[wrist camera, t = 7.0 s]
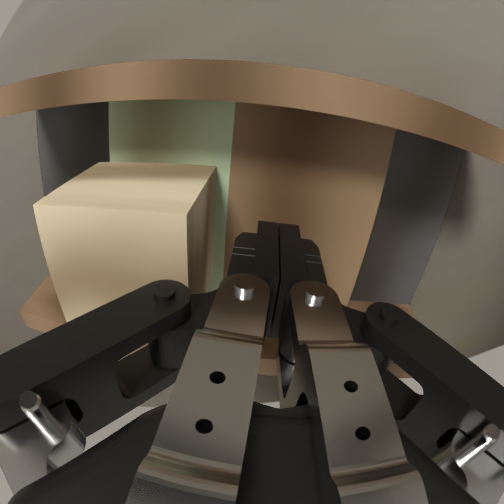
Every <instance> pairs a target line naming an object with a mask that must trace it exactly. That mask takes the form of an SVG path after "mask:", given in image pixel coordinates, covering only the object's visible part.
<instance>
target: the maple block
mask: <svg viewBox="0 0 504 504" xmlns="http://www.w3.org/2000/svg"><path fill="white" fill-rule="evenodd" d="M215 183H216V166H206V165H190V164H170V163H140V162H99V163H97V164H95V165H94V166H92V167H90V168H89V169H87V170H85V171H84V172H82V173H80V174H79V175H77V176H76V177H74V178H72V179H71V180H69V181H68V182H66V183H65V184H63V185H61V186H60V187H58V188H57V189H55V190H54V191H52V192H51V193H50V194H48V195H47V196H45V197H44V198H42V199H41V200H39V201H38V202H37V203H35V204H34V205H33V207H34V212H35V217H36V222H37V226H38V230H39V235H40V239H41V243H42V247H43V250H44V254H45V258H46V261H47V265H48V268H49V272H50V275H51V278H52V281H53V285H54V288H55V291H56V294H57V297H58V300H59V302H60V305H61V308H62V311H63V313H64V316H65V319H66V321H67V322H69V321H71V320H73V319H75V318H77V317H79V316H81V315H83V314H85V313H87V312H89V311H92V310H94V309H96V308H98V307H100V306H102V305H104V304H106V303H108V302H110V301H113V300H115V299H117V298H119V297H121V296H123V295H125V294H127V293H130V292H132V291H134V290H136V289H138V288H140V287H142V286H144V285H147V284H149V283H151V282H153V281H157V280H165V279H167V280H175V281H178V282H181V283H183V284H184V285H186V286H187V287H188V289H189V290H190V294H201V293H207V292H208V291H209V287H210V284H211V280H212V276H213V240H214V208H215ZM147 344H148V343H147Z"/></svg>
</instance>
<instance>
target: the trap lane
mask: <svg viewBox="0 0 504 504" xmlns="http://www.w3.org/2000/svg"><path fill="white" fill-rule="evenodd" d="M33 110H36V119H37V136H38V149H39V159H40V168H41V176H42V183H43V190H44V196H47V195H48V194H50V193H51V192H52V191H54V190H55V189H57V188H58V187H60V186H61V185H63V184H65V183H66V182H68V181H69V180H71V179H72V178H74V177H76V176H77V175H79V174H80V173H82V172H84V171H85V170H87V169H89V168H90V167H92V166H94V165H95V164H97V163H99V162H140V163H170V164H190V165H206V166H216V183H215V208H214V240H213V276H212V280H211V284H210V287H209V291H208V292H211V291H214V290H216V289H218V288H219V285H220V283H221V281H222V280H223V279H224V278H226V277H227V273H228V269H229V264H230V260H231V255H232V251H233V247H234V242H235V238H236V237H237V236H238V235H239V234H241V233H242V232H249V233H257V228H258V220H259V221H268V222H277V223H278V225H279V223H286V224H294V225H299V229H300V235H301V238H303V239H311V240H312V241H313V242H314V243H315V244H316V245H317V246H318V247H319V251H320V255H321V259H322V264H323V267H324V272H325V276H326V280H327V285H328V286H330V287H331V288H332V289H334V290H335V292H336V293H337V295H338V297H339V300H340V302H341V304H342V305H344V306H347V307H349V308H352V309H355V310H359V311H362V312H366V310H367V308H368V306H370V305H371V304H373V303H376V302H386V303H390V304H393V305H395V306H397V307H399V308H401V309H402V310H403V311H405V312H406V313H408V314H409V315H410V316H412V317H413V318H414V319H416V318H415V316H414V313H413V311H412V309H411V307H410V305H409V304H410V302H411V300H412V297H413V295H414V293H415V291H416V289H417V286H418V284H419V282H420V280H421V277H422V275H423V273H424V270H425V268H426V265H427V263H428V261H429V258H430V256H431V253H432V250H433V248H434V245H435V243H436V240H437V237H438V234H439V232H440V229H441V226H442V223H443V220H444V217H445V214H446V211H447V208H448V205H449V202H450V199H451V196H452V192H453V189H454V186H455V182H456V179H457V175H458V171H459V168H460V164H461V160H462V156H463V152H464V150H467V151H470V152H472V153H475V154H478V155H480V156H483V157H485V158H488V159H490V160H493V161H495V162H498V163H500V164H502V165H504V130H502V129H500V128H498V127H495V126H493V125H491V124H489V123H487V122H485V121H483V120H480V119H478V118H476V117H474V116H471V115H469V114H467V113H464V112H462V111H459V110H457V109H454V108H452V107H449V106H447V105H444V104H441V103H439V102H436V101H433V100H430V99H427V98H425V97H422V96H419V95H415V94H412V93H409V92H406V91H403V90H399V89H396V88H393V87H389V86H386V85H382V84H378V83H374V82H370V81H366V80H362V79H358V78H354V77H349V76H345V75H340V74H335V73H330V72H324V71H319V70H313V69H307V68H300V67H293V66H286V65H278V64H269V63H259V62H247V61H232V60H202V59H182V60H153V61H138V62H126V63H116V64H108V65H100V66H93V67H86V68H80V69H74V70H69V71H63V72H58V73H54V74H49V75H45V76H40V77H36V78H32V79H28V80H24V81H21V82H17V83H13V84H10V85H7V86H3V87H0V117H2V116H7V115H12V114H17V113H22V112H27V111H33ZM19 311H20V313H21V316H22V318H23V320H24V322H25V324H26V326H27V327H30V328H33V329H36V330H39V331H42V332H45V333H46V332H48V331H50V330H52V329H54V328H56V327H58V326H60V325H62V324H65V323H67V321H66V319H65V316H64V313H63V311H62V308H61V305H60V302H59V300H58V297H57V294H56V291H55V288H54V285H53V281H52V278H51V275H50V274H49V275H48V276H47V278H46V279H45V280H44V281H43V282H42V283H41V285H40V286H39V287H38V288H37V289H36V290H35V292H34V293H33V294H32V295H31V296H30V298H29V299H28V300H27V301H26V303H25V304H24V305H23V306H22V308H21V309H20V310H19ZM146 345H148V344H146ZM146 345H144V346H146ZM144 346H142V347H140V348H139V349H141V348H143V347H144ZM139 349H137V350H139ZM137 350H135V351H133V352H131V353H130V354H132V353H134V352H136V351H137ZM277 350H278V338H271V327H270V333H269V337H265V339H264V345H263V349H262V351H261V357H260V363H259V370H258V374H260V375H271V376H277V365H276V354H277ZM130 354H129V355H130ZM388 370H389V371H390V372H391V373H392V374H394V375H395V376H396V377H397V378H412V377H411V376H410V375H409V374H407V373H406V372H405V371H404V370H403V369H401V368H400V367H399V366H398V365H396V364H395V363H394V362H393V361H392V362H391V364H390V366H389V367H388Z"/></svg>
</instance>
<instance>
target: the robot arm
mask: <svg viewBox="0 0 504 504" xmlns="http://www.w3.org/2000/svg"><path fill="white" fill-rule="evenodd" d="M270 327H271V338H278V350H277V354H276V365H277V377H278V388H279V400H280V409H278V408H274V407H270V406H267V405H263V404H260V403H257V402H254V401H253V400H254V394H255V388H256V382H257V376H258V370H259V363H260V357H261V351H262V349H263V345H264V339H265V337H269V333H270ZM147 343H148V345H146V344H147ZM144 345H146V346H144ZM142 346H144V347H143V348H141V349H139V348H140V347H142ZM137 349H139V350H137ZM135 350H137V351H136V352H134V353H132V354H130V353H131V352H133V351H135ZM128 354H130V355H129V356H127V357H125V358H123V357H124V356H126V355H128ZM121 358H123V359H121ZM120 359H121V360H120ZM118 360H120V361H118ZM117 361H118V362H117ZM392 361H393V362H394V363H395V364H396V365H398V366H399V367H400V368H401V369H403V370H404V371H405V372H406V373H407V374H409V375H410V376H411V377H412V378H414V379H415V380H416V381H417V382H418V383H419V384H420V385H421V386H422V388H423V392H424V394H423V395H419V394H417V393H415V392H414V391H413V390H412V389H410V388H409V387H408V386H407V385H406V384H404V383H403V382H402V381H401V380H399V379H398V378H397V377H396V376H395V375H394V374H392V373H391V372H390V371H389V370H388V367H389V366H390V364H391V362H392ZM173 383H175V384H174V387H173V390H172V392H171V395H170V398H169V400H168V403H167V404H166V405H162V406H159V407H156V408H154V409H151V410H149V411H147V412H145V413H144V414H142V415H140V416H139V417H137V418H136V419H134V420H133V421H132V422H130V423H128V424H127V425H125V426H124V427H122V428H121V429H119V430H118V431H116V432H115V433H113V434H112V435H110V436H109V437H107V438H106V439H104V440H102V441H101V442H99V443H98V444H96V445H95V446H93V447H91V448H90V449H88V450H87V451H85V452H84V453H83V451H84V449H85V445H86V437H87V436H89V435H91V434H93V433H94V432H96V431H97V430H99V429H101V428H103V427H105V426H106V425H108V424H109V423H111V422H113V421H114V420H116V419H118V418H119V417H121V416H123V415H124V414H126V413H128V412H129V411H131V410H133V409H134V408H136V407H137V406H139V405H141V404H142V403H144V402H145V401H147V400H149V399H150V398H152V397H153V396H155V395H156V394H158V393H160V392H161V391H163V390H164V389H166V388H167V387H169V386H170V385H172V384H173ZM0 466H1V469H2V471H3V473H4V475H5V478H6V480H7V482H8V484H9V486H10V488H11V490H12V492H13V494H14V496H13V497H12V498H11V499H10V501H9V502H8V504H497V503H498V501H499V499H500V498H501V496H502V494H503V492H504V387H503V386H502V385H500V384H499V383H498V382H497V381H495V380H494V379H493V378H492V377H490V376H489V375H488V374H487V373H485V372H484V371H483V370H481V369H480V368H479V367H478V366H476V365H475V364H474V363H473V362H471V361H470V360H469V359H467V358H466V357H465V356H464V355H462V354H461V353H460V352H458V351H457V350H456V349H454V348H453V347H452V346H451V345H449V344H448V343H447V342H445V341H444V340H443V339H441V338H440V337H439V336H437V335H436V334H435V333H433V332H432V331H431V330H429V329H428V328H427V327H425V326H424V325H423V324H421V323H420V322H418V321H417V320H416V319H414V318H413V317H412V316H410V315H409V314H408V313H406V312H405V311H403V310H402V309H401V308H399V307H397V306H395V305H393V304H390V303H386V302H376V303H373V304H371V305H370V306H368V308H367V310H366V312H362V311H359V310H355V309H352V308H349V307H347V306H344V305H342V304H341V302H340V300H339V297H338V295H337V293H336V292H335V290H334V289H332V288H331V287H330V286H328V285H327V280H326V276H325V272H324V267H323V264H322V259H321V255H320V251H319V247H318V246H317V245H316V244H315V243H314V242H313V241H312V240H311V239H303V238H301V235H300V229H299V225H294V224H286V223H279V225H278V223H277V222H268V221H259V220H258V228H257V233H249V232H242V233H241V234H239V235H238V236H237V237H236V238H235V242H234V247H233V251H232V255H231V260H230V264H229V269H228V273H227V277H226V278H224V279H223V280H222V281H221V283H220V285H219V288H218V289H216V290H214V291H211V292H207V293H201V294H190V290H189V289H188V287H187V286H186V285H184V284H183V283H181V282H178V281H175V280H167V279H165V280H157V281H153V282H151V283H149V284H147V285H144V286H142V287H140V288H138V289H136V290H134V291H132V292H130V293H127V294H125V295H123V296H121V297H119V298H117V299H115V300H113V301H110V302H108V303H106V304H104V305H102V306H100V307H98V308H96V309H94V310H92V311H89V312H87V313H85V314H83V315H81V316H79V317H77V318H75V319H73V320H71V321H69V322H67V323H65V324H62V325H60V326H58V327H56V328H54V329H52V330H50V331H48V332H46V333H44V334H42V335H40V336H38V337H36V338H34V339H32V340H30V341H28V342H25V343H23V344H21V345H19V346H17V347H15V348H13V349H11V350H9V351H7V352H5V353H3V354H1V355H0Z"/></svg>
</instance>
